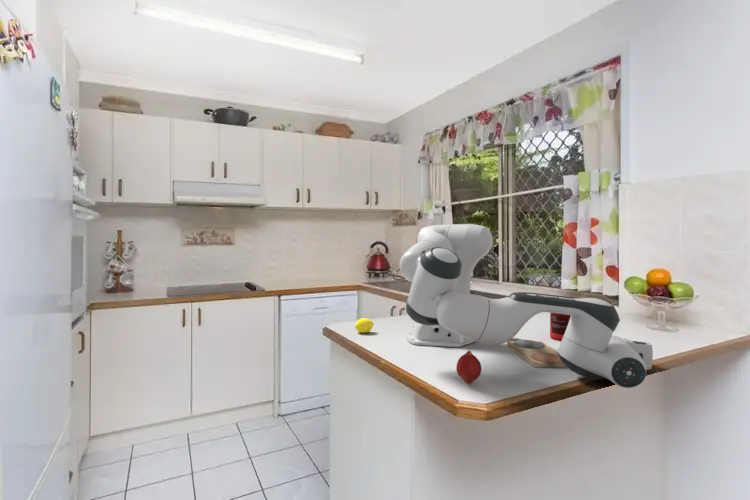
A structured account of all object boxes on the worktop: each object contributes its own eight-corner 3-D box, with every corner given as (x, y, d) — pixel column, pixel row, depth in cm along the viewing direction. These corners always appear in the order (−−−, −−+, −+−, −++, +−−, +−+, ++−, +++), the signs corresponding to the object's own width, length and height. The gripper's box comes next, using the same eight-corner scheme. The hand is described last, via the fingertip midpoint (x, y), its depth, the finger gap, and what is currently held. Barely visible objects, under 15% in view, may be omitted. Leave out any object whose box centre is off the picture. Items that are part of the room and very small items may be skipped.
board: (535, 367, 107) (535, 362, 107) (506, 344, 130) (506, 339, 130) (576, 367, 107) (576, 362, 107) (540, 344, 130) (540, 340, 130)
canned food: (569, 336, 141) (569, 305, 141) (578, 342, 133) (579, 309, 133) (546, 335, 142) (547, 304, 142) (554, 341, 134) (555, 308, 134)
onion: (453, 379, 98) (453, 347, 98) (476, 378, 99) (476, 346, 99) (460, 388, 93) (460, 354, 92) (484, 387, 93) (485, 353, 93)
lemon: (356, 336, 143) (354, 321, 142) (355, 332, 148) (353, 318, 148) (375, 332, 144) (373, 318, 143) (373, 329, 149) (371, 315, 149)
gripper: (568, 361, 108) (563, 348, 121) (658, 370, 101) (642, 355, 114) (569, 338, 107) (563, 327, 120) (659, 345, 100) (643, 333, 113)
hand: (602, 340), depth 117 cm, fingers open, 8 cm apart
